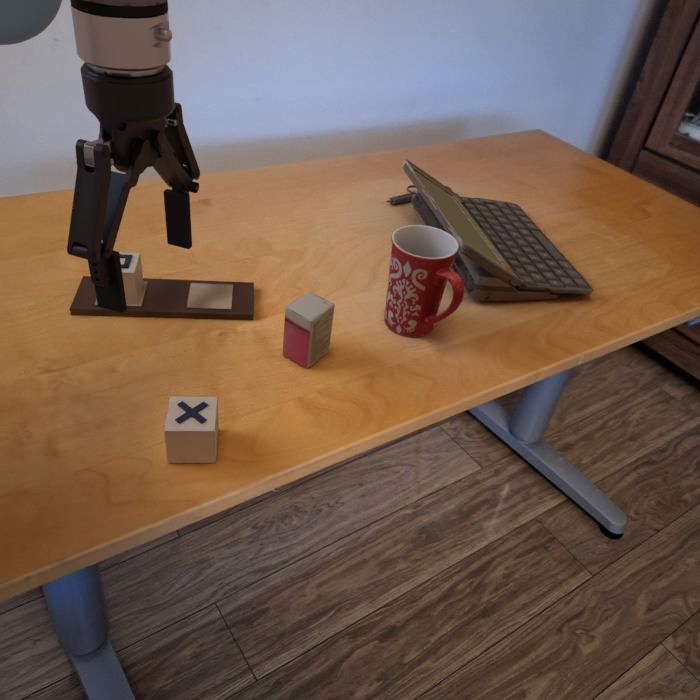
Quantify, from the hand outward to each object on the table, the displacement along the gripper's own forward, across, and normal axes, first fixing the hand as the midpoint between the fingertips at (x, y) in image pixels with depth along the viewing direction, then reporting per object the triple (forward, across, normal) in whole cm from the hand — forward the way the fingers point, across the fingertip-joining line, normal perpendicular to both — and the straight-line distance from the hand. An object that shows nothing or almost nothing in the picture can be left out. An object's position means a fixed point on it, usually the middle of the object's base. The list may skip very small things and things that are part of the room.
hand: (148, 274), depth 66 cm
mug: (+15, +23, -28) cm, 39 cm away
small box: (+15, +11, -15) cm, 24 cm away
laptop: (+15, +51, -34) cm, 63 cm away
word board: (+15, +14, +7) cm, 22 cm away
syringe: (+15, +65, -19) cm, 69 cm away
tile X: (+15, -8, -9) cm, 19 cm away
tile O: (+14, +12, +12) cm, 22 cm away
